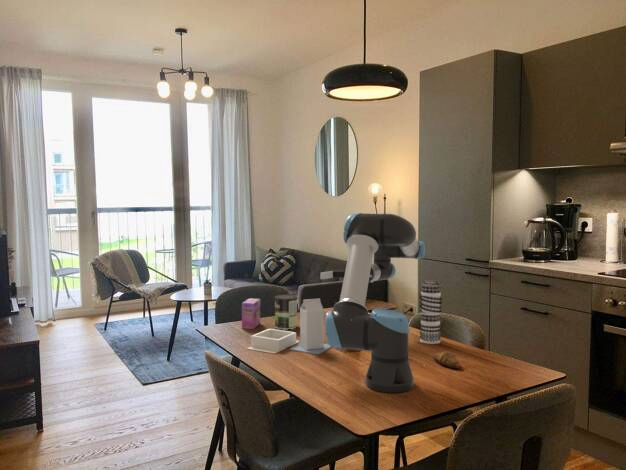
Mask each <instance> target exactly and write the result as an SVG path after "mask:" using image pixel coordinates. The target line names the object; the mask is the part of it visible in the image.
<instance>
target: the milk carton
mask: <svg viewBox="0 0 626 470" xmlns="http://www.w3.org/2000/svg"><path fill="white" fill-rule="evenodd" d="M302 301H303V302H302V304H301V306H300V308H299V309H300V310H299V311H300V313H299V314H300V315H299V318H300V320H299V325H300V326H299V333H300V334H299V338H300V339H299V341H300V342H299V344H300V345H301V346H302V347H304V348H305V349H306V350H310V349H319V348H324V344H325V343H324V339H325V338H324V333H325V332H324V331H325V330H324V329H325V319H324V318H325V317H324V316H325V315H324V313H325V312H324V311H325V310H324V307H323V305H322V302H321V298H311V299H310V298H309V299H307V298H306V299H303V300H302Z"/></svg>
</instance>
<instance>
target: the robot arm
mask: <svg viewBox="0 0 626 470" xmlns="http://www.w3.org/2000/svg"><path fill="white" fill-rule="evenodd" d="M416 231H417V230H416V228H415V227H414V225H413V224H412V222H410V221H409V220H408V219H406V218H404V217H402V216H399V215H397V214H394V213H362V212H359V213H352V214H350V215H347V218H346V219H345V222H344V227H343V234H342V235H343V241H344V243H345V244H346V247H347V249H348V255H347V260H346V261H347V262H346V265H345V270H343V269H340V270H337V269H336V270H330V269H329V270H328V271H323V272H322V271H321V272H320V280H326V279H327V280H328V279H329V280H332V279H333V278H343V280H342V286H341V291H340V297H339V301H338V302H336V303H335V304H334V305H333V309H332V310H329V311H327V312H326V313H325V317H324V318H325V319H324V329H325V330H324V331H325V332H324V333H325V338H326V343H327V344H329V345H330V346H331V348H335V349H340V350H356V351H368V352H370V353H371V358H370V362H369V366H368V368H367V372H366V375H365V385H366V387H368V388H369V389H371V390H374V391H377V392H381V393H388V394H390V393H393V394H394V393H395V394H397V393H404V392H409V391H410V390H413V388H414V386H415V385H414V384H415V382H414V381H415V380H414V376H413V375H414V374H413V371H412V369H411V368H412V367H411V366H410V361H409V341H410V340H409V334H410V325H409V319H408V316H406V315H405V313H402V312H400V311H397V310H392V309H387V308H374V309H372V311H371V312H370V313H369V309H368V308H367V307H366V299H367V293H368V289H369V288H368V287H369V283H374V282H378V281H383V280H384V281H387V280H389V279H392V278H394V277H395V274H396V267H395V265H394V264H393V262H392V259H416V260H418V259H424V258H425V255H426V245H425V242H424V241H419V240H417V237H416V236H417V232H416Z"/></svg>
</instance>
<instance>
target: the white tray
mask: <svg viewBox="0 0 626 470" xmlns="http://www.w3.org/2000/svg"><path fill="white" fill-rule="evenodd" d="M250 342H251V343H250V346H249V347H247V348H246V350H251V351H257V352H261V353H262V352H263V353H267V354H274V355H275V354H278V353H279V352H281V351H284V350H285V349H289V347H290V348H291V347H293V346H295V345H297V343H298V344H299V343H300V340H298V339H297V332H294V331H291V330H290V331H289V330H281V329H276V328H268V329H265V330H262V331H260V332H258V333H255V334H253V335H251V336H250Z"/></svg>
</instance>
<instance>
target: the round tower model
mask: <svg viewBox="0 0 626 470" xmlns="http://www.w3.org/2000/svg"><path fill="white" fill-rule="evenodd" d="M420 285H421V291H420V293H419V299H420V300H419V308H420V309H419V313H420V314H421V315H420V323H419V326H420V327H419V330H420V331H419V342H421V343H424V344H431V345H434V344H435V345H436V344H437V345H438V344H440V343H441V339H442V337H441V335H442V333H441V331H442V324H441V314H442V310H441V309H443V307H442V306H441V304H443V302H442V300H443V298H442V297H441V295H442V294H441V293H442V292H441V286H442V284H441V283H440V282H439V281H438V280H437V279H436V280H435V279H425V280H424V281H423V282H422V283H420Z"/></svg>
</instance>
